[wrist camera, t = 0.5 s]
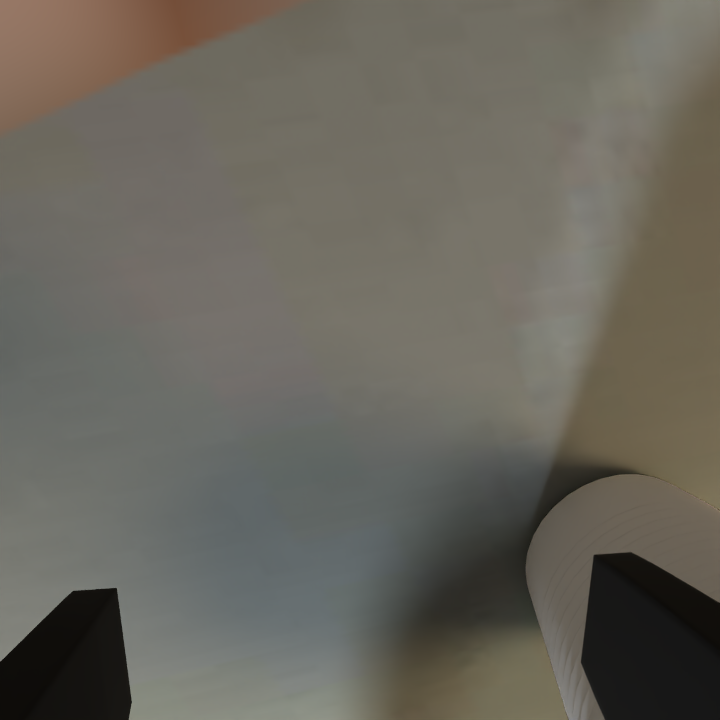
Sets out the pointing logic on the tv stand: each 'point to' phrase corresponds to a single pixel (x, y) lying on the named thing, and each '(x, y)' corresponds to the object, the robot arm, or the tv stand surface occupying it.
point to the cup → (605, 536)
